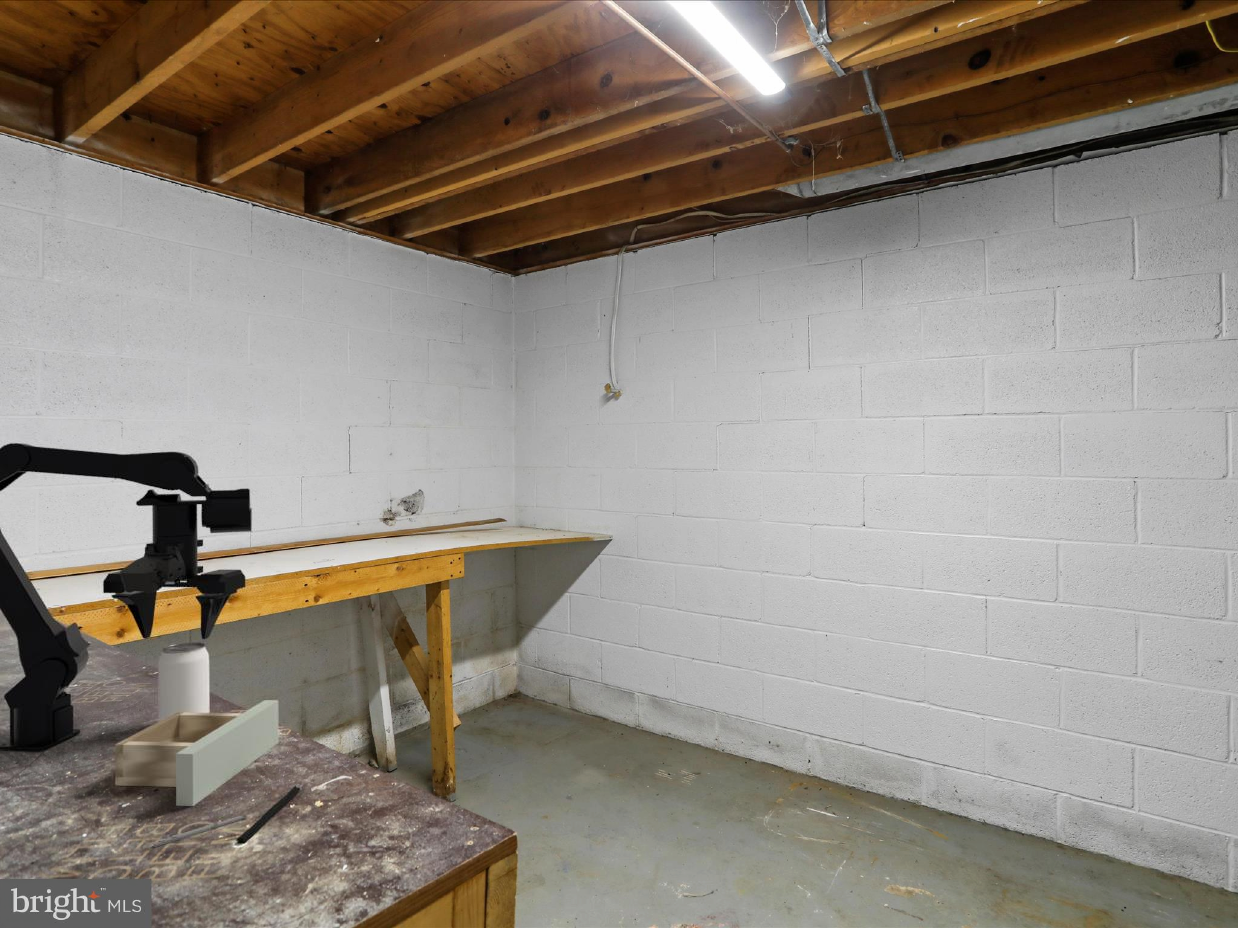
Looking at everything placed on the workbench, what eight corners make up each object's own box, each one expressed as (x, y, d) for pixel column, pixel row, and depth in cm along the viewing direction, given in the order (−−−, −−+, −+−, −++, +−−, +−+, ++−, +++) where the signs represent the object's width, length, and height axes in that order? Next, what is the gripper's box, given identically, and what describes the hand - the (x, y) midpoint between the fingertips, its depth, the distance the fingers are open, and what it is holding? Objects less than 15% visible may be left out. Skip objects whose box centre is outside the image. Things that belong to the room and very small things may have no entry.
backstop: (176, 805, 80) (176, 753, 80) (264, 742, 98) (264, 699, 98) (193, 805, 80) (192, 753, 80) (278, 742, 98) (278, 700, 98)
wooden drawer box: (115, 785, 85) (115, 744, 85) (177, 748, 96) (177, 712, 96) (201, 787, 85) (201, 746, 85) (254, 749, 96) (254, 713, 96)
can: (185, 737, 100) (184, 653, 100) (147, 733, 101) (146, 651, 101) (219, 720, 107) (219, 642, 106) (183, 717, 108) (183, 640, 108)
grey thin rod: (247, 822, 77) (247, 813, 77) (154, 851, 71) (154, 842, 71) (244, 819, 78) (244, 810, 78) (152, 847, 72) (152, 838, 72)
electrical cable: (296, 790, 84) (296, 782, 84) (304, 790, 84) (304, 782, 84) (235, 846, 72) (236, 836, 72) (245, 846, 72) (245, 836, 72)
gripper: (71, 540, 98) (72, 652, 98) (199, 541, 96) (200, 653, 96) (131, 532, 109) (132, 632, 109) (247, 532, 108) (247, 633, 108)
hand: (175, 638), depth 105 cm, fingers open, 9 cm apart
